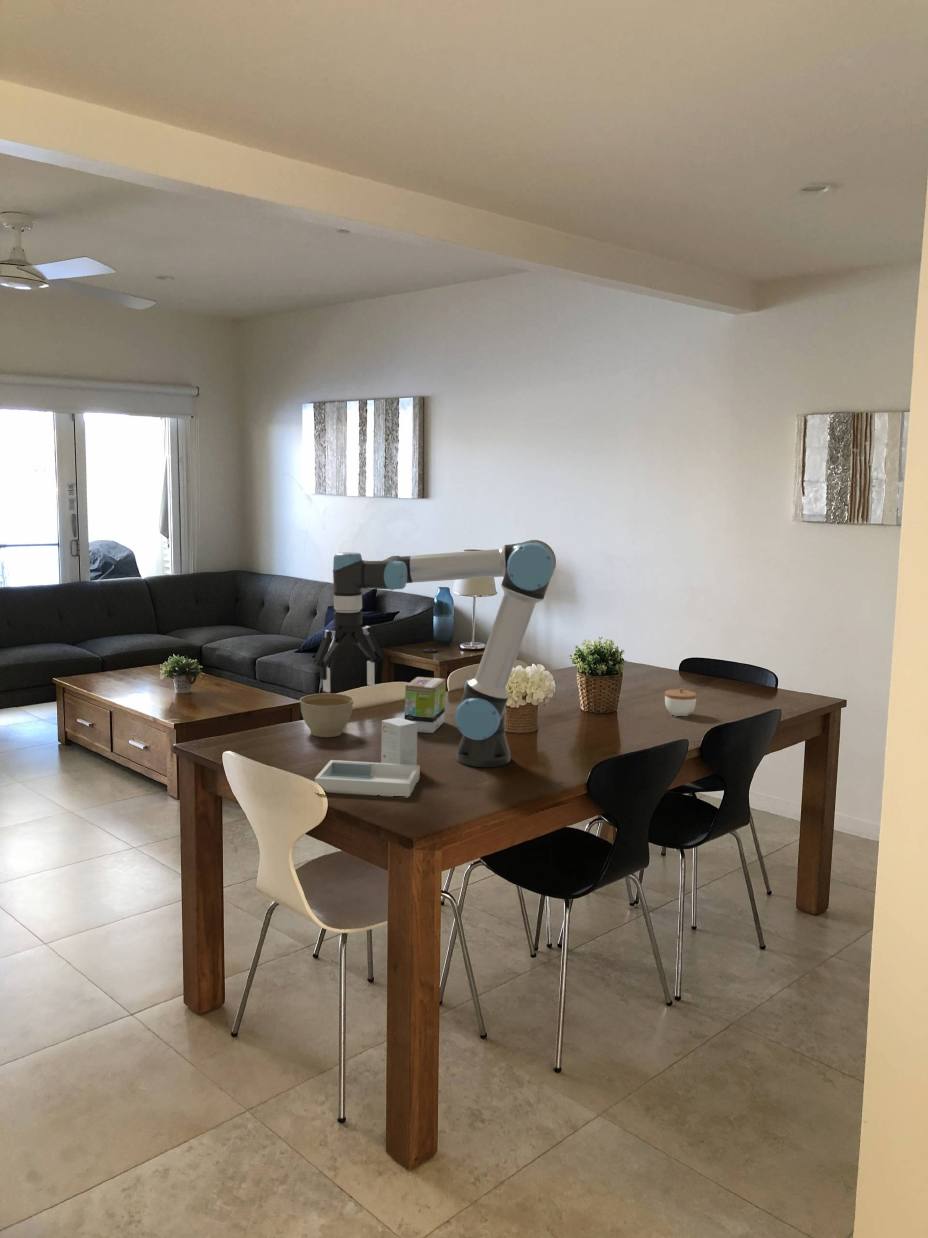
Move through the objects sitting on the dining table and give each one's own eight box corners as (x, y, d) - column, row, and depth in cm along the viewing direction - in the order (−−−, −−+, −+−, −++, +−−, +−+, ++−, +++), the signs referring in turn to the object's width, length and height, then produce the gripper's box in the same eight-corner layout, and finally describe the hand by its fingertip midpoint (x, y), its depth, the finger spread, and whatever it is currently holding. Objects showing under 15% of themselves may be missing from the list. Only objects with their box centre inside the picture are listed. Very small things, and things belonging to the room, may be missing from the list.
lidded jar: (701, 717, 334) (703, 690, 333) (675, 719, 330) (676, 692, 329) (683, 710, 344) (685, 684, 342) (657, 712, 340) (659, 685, 339)
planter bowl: (289, 732, 301) (289, 698, 300) (331, 724, 312) (332, 691, 311) (320, 744, 290) (320, 708, 288) (363, 734, 301) (364, 700, 300)
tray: (419, 778, 260) (419, 765, 259) (409, 797, 244) (409, 784, 244) (330, 772, 263) (330, 760, 262) (314, 791, 247) (314, 778, 246)
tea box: (434, 734, 305) (435, 687, 302) (403, 731, 306) (403, 684, 304) (445, 722, 319) (446, 677, 317) (415, 720, 321) (415, 675, 319)
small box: (417, 769, 268) (418, 722, 266) (399, 773, 264) (400, 726, 262) (398, 762, 274) (398, 716, 272) (380, 766, 269) (381, 720, 267)
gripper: (380, 605, 273) (381, 680, 276) (299, 612, 259) (301, 691, 262) (395, 608, 267) (395, 685, 270) (312, 615, 253) (314, 696, 256)
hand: (349, 688), depth 266 cm, fingers open, 13 cm apart
